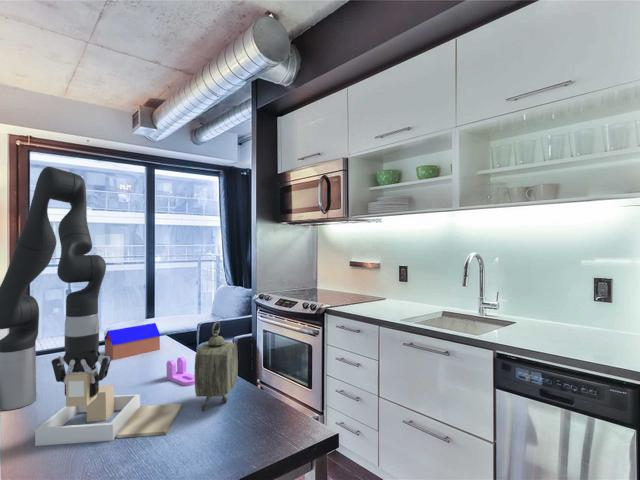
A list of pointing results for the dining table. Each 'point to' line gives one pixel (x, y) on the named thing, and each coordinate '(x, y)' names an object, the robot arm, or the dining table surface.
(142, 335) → the house
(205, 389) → the tabletop clock
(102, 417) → the plain box
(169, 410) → the board
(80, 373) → the labelled box
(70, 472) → the dining table surface
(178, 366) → the bracket
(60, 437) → the bin
